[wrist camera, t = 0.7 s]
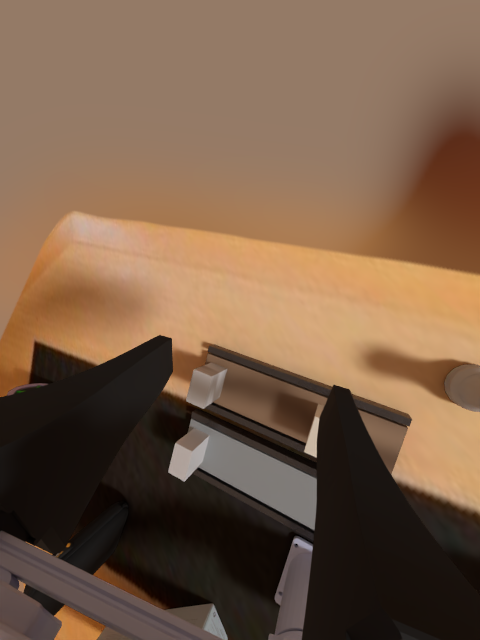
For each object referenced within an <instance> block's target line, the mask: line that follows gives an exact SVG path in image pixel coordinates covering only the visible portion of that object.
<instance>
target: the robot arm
mask: <svg viewBox="0 0 480 640" xmlns="http://www.w3.org/2000/svg"><path fill="white" fill-rule="evenodd" d="M172 372H173V361H172V338H168V337H165V336H161V335H159V336H157V337H155V338H153V339H151V340H149V341H147V342H145V343H143V344H141V345H139V346H137V347H135V348H134V349H132V350H130V351H128V352H126V353H124V354H122V355H120V356H118V357H116V358H113V359H111V360H109V361H107V362H105V363H103V364H100V365H98V366H96V367H94V368H92V369H89V370H87V371H84V372H82V373H79V374H77V375H74V376H71V377H69V378H66V379H63V380H60V381H57V382H54V383H51V384H47V385H44V386H41V387H38V388H35V389H31V390H28V391H24V392H20V393H16V394H12V395H8V396H4V397H0V640H54V638H55V637H56V635H57V633H58V631H59V630H60V628H61V626H62V622H61V621H60V620H59V619H57V618H56V617H54V616H53V615H52V614H50V613H49V612H48V611H47V610H46V609H44V608H43V606H42V605H41V604H40V603H39V602H37V601H36V600H34V599H32V598H31V597H29V596H27V595H26V594H24V593H22V592H21V591H19V590H18V588H19V581H18V580H20V581H21V582H23V583H25V584H27V585H29V586H31V587H33V588H34V589H36V590H38V591H40V592H42V593H44V594H46V595H48V596H50V597H52V598H53V599H55V600H57V601H59V602H61V603H63V604H65V605H67V606H69V607H71V608H73V609H74V610H76V611H78V612H80V613H82V614H84V615H86V616H88V617H90V618H92V619H93V620H95V621H97V622H99V623H101V624H103V625H105V626H107V627H109V628H111V629H112V630H114V631H116V632H118V633H120V634H122V635H124V636H126V637H128V638H130V639H132V640H224V639H222V638H220V637H218V636H216V635H213V634H211V633H209V632H207V631H205V630H203V629H201V628H199V627H197V626H195V625H193V624H191V623H189V622H187V621H185V620H183V619H181V618H179V617H177V616H175V615H173V614H171V613H169V612H167V611H165V610H163V609H161V608H158V607H156V606H154V605H152V604H150V603H148V602H146V601H144V600H142V599H140V598H138V597H136V596H134V595H132V594H130V593H128V592H126V591H124V590H122V589H120V588H118V587H116V586H114V585H112V584H110V583H108V582H106V581H103V580H101V579H99V578H97V577H95V576H93V575H91V574H89V573H87V572H85V571H83V570H81V569H79V568H77V567H75V566H73V565H71V564H69V563H67V562H65V561H63V560H61V559H59V558H57V557H55V556H53V555H51V554H54V553H57V552H59V551H61V550H63V549H64V548H66V546H67V544H68V542H69V540H70V538H71V536H72V534H73V532H74V530H75V528H76V526H77V524H78V522H79V520H80V518H81V516H82V514H83V512H84V511H85V509H86V507H87V505H88V503H89V501H90V500H91V498H92V496H93V494H94V492H95V490H96V489H97V487H98V485H99V483H100V481H101V480H102V478H103V476H104V475H105V473H106V471H107V470H108V468H109V466H110V464H111V463H112V461H113V459H114V458H115V456H116V454H117V453H118V451H119V450H120V448H121V446H122V445H123V443H124V441H125V440H126V438H127V437H128V436H129V434H130V433H131V431H132V430H133V429H134V427H135V426H136V425H137V423H138V422H139V421H140V419H141V418H142V417H143V415H144V414H145V413H146V411H147V410H148V409H149V408H150V406H151V405H152V404H153V402H154V401H155V400H156V398H157V397H158V396H159V394H160V393H161V391H162V390H163V388H164V387H165V385H166V383H167V381H168V380H169V378H170V376H171V374H172ZM25 541H26V542H28V543H30V544H32V545H34V546H37V547H39V548H41V549H43V550H45V551H47V552H49V553H51V554H48V553H46V552H44V551H42V550H40V549H38V548H36V547H34V546H32V545H30V544H28V543H26V542H25ZM295 544H298V545H295ZM281 592H282V593H281ZM275 601H276V602H277V603H278V604H279V605H281V606H280V610H279V615H278V620H277V625H276V630H275V635H273V634H269V638H268V640H480V595H479V594H478V592H477V591H476V590H475V589H474V588H473V587H472V585H471V584H470V583H469V582H468V581H467V579H466V578H465V577H464V576H463V574H462V573H461V572H460V571H459V569H458V568H457V567H456V566H455V564H454V563H453V562H452V561H451V559H450V558H449V557H448V556H447V554H446V553H445V552H444V551H443V549H442V548H441V547H440V545H439V544H438V543H437V541H436V540H435V539H434V537H433V536H432V535H431V533H430V532H429V530H428V529H427V528H426V526H425V525H424V524H423V522H422V521H421V520H420V518H419V517H418V515H417V514H416V513H415V511H414V510H413V508H412V507H411V505H410V504H409V502H408V501H407V499H406V498H405V496H404V495H403V493H402V492H401V490H400V488H399V487H398V485H397V484H396V482H395V480H394V479H393V477H392V475H391V474H390V472H389V470H388V469H387V467H386V465H385V463H384V461H383V460H382V458H381V456H380V454H379V452H378V450H377V449H376V447H375V445H374V443H373V441H372V439H371V437H370V435H369V433H368V431H367V428H366V426H365V424H364V422H363V420H362V418H361V415H360V413H359V411H358V408H357V406H356V404H355V401H354V399H353V396H352V394H351V392H350V390H349V389H346V388H343V387H339V386H336V385H333V387H332V390H331V392H330V394H329V397H328V399H327V401H326V404H325V406H324V408H323V411H322V413H321V415H320V418H319V426H318V434H317V502H316V518H315V529H314V540H313V544H311V543H310V542H308V541H306V540H304V539H302V538H301V537H299V536H295V537H294V539H293V542H292V545H291V548H290V551H289V554H288V557H287V561H286V564H285V567H284V570H283V573H282V576H281V579H280V582H279V585H278V588H277V591H276V594H275Z"/></svg>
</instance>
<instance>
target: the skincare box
mask: <svg viewBox="0 0 480 640" xmlns="http://www.w3.org/2000/svg"><path fill="white" fill-rule="evenodd" d="M165 611H167V612H169V613H171V614H173V615H175V616H177V617H179V618H181V619H183V620H185V621H187V622H189V623H191V624H193V625H195V626H197V627H199V628H201V629H203V630H205V631H207V632H209V633H211V634H213V635H216V636H218V637H220V638H222V639H224V640H227V635H226V633H225V630H224V628H223V626H222V623H221V621H220V618H219V616H218V614H217V611H216V609H215V607H214V604H213V603H211V604H204V605H196V606H189V607H181V608H174V609H167V610H165ZM97 640H132V639H130V638H128V637H126V636H124V635H122V634H120V633H118V632H116V631H114V630H112V629H111V628H109V627H107V626H106V627H105V628H104V630H103V631H102V633H101V634H100V636H99V637H98V639H97Z"/></svg>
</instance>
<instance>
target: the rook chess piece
mask: <svg viewBox="0 0 480 640" xmlns="http://www.w3.org/2000/svg"><path fill="white" fill-rule="evenodd" d="M444 385H445V392H446V393H447V395H448V397H449V398H450V400H452V401H453V402H454V403H456V404H457V405H459V406H461V407H462V408H465V409H468V410H471V411H475V412H480V366H479V365H475V364H467V365H461V366H459V367H456V368H454V369H453V370H452V371H451V372H450V373H449V374H447V377H446V379H445V382H444Z"/></svg>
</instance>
